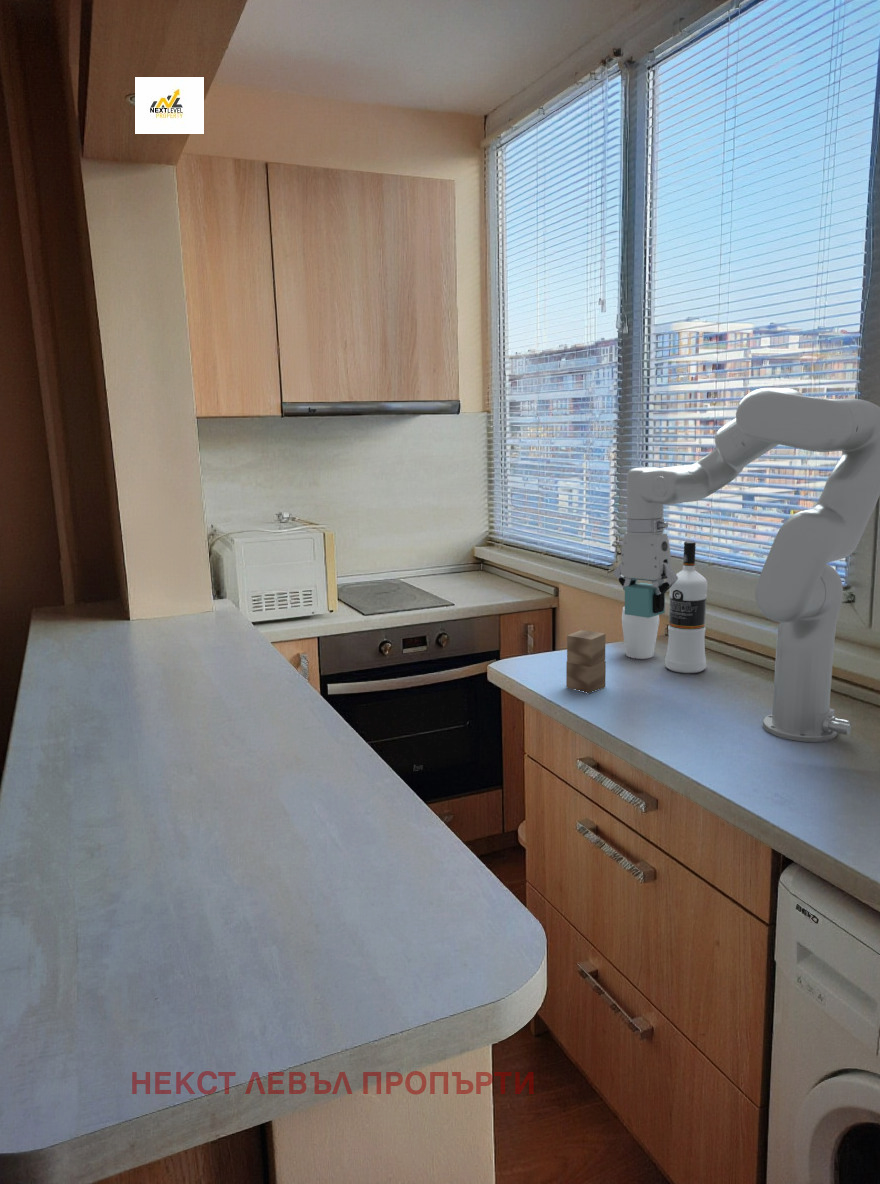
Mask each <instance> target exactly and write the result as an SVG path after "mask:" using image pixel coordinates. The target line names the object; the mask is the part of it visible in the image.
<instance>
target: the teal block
mask: <svg viewBox="0 0 880 1184" xmlns="http://www.w3.org/2000/svg"><path fill="white" fill-rule="evenodd" d="M654 594H655V591H654V588H653V585H652V583H645V582H639V583H636V584H634V585H630V586H626V587H625V591H624V606H625V614H627V615H633V616H640V617H647V618H650V617H653V616H656V615H659V616H660V615H663V614H665V612H666V611H665V610H666V600H665V599H666V596H665V595H666V593H664V610H663V611H662V612H659V613H653V595H654Z"/></svg>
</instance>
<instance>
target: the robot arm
mask: <svg viewBox="0 0 880 1184" xmlns="http://www.w3.org/2000/svg"><path fill="white" fill-rule="evenodd" d="M714 443H715V448H714V450H712V451H711V452H710V453H708V454H706V455H705V456H704V457H702V458H701V459H699V460H698V461H696V462H695V463H692V464H686V465H685V464H683V465H675V466H674V465H673V466H666V467H660V468H659V467H655V466H650V467H649V466H647V467H646V466H645V467H643V466H642V467H634V468H630V469H629V470H628V471H627V474H626V532H624V534H623V539H622V544H621V545H622V546H621V552H620V553H621V554H620V564H618V566H617V567H616V568H615V570H613V575H614V577H615V578H616V579H617V580H618V582H619V584H620V585H621V586H622V591H624V592H625V587H626V586H630V585H634V584H638V583H637V582H638V580H639V581H647V582H651V584H652V585H653V588H654V591H655V594H654V595H653V613H659V612H662V611H663V610H664V593H665V594H666V593H668V590H670V587H671V586H672V585H673V584H674V583H675V582H676V581H677V580H678V577H677V575H676V574H677V573H675V572H674V570H673V569H672V558H671V547H670V541H669V536H668V533H667V532H664V531H665V529H667V528H669V523H668V521H665V518H664V505H666V506H667V505H669V506H670V505H671V506H672V505H677V504H683V503H684V504H685V503H693V502H697V501H701V500H703V499H705V498H707V497H709V496H711V495H712V494H715V493H716V492H717V491H719V490H720V489H723V487H725V486H727V485H728V484H730V483H731V482H732V481H734V480H735V479H736V478H737V477H738V476H739V474H741V473H742V471H743V470H744V469H745V467H746V466H747V465H749V464H750V463H752V462H754V461H755V460H756V459H758V458H759V457H761V456H764V454H766V453H768V452H770V451H771V450H772V449H774V448H775V447H777V446H780V445H781V446H785V447H790V448H795V449H800V450H804V451H809V452H817V453H829V452H842V453H841V457H840V459H839V461H837V462H838V463H837V464H836V465H835V467H834V468H833V469H832V471H831V472H830V474H829V475H828V478H827V480H826V482H825V485H824V486H823V487H824V488H823V490H822V493H821V494H820V496H819V499H818V500H817V501H816V504H815V505H814V507H813V508H810V509H805V510H801V511H797V512H796V513H794V514H792V515H791V516H789V517H788V518H787V520H785V521H784V523H783V524H782V525H781V527H780V528H779V529H778V531H777V533H776V536H775V538H774V539H773V543H772V544H771V548H770V549H769V551H768V554H767V557H766V560H765V563H764V564H763V567H762V569H761V572H760V574H759V577H758V579H757V583H756V586H755V594H754V595H755V596H754V597H755V602H756V603H755V604H756V605H757V608H758V610H759V612H760V613H761V614H762V615H763V617H765V618H767V619H768V620H770V621H772V622H776V623H778V629H777V635H776V647H775V660H774V661H775V664H774V679H773V680H774V682H773V698H772V699H773V700H772V713H770V714H769V715H766V716H765V717H764V718H763V721H762V726H763V727H762V728H763V729H764V730H765V731H766V732H768V733H769V734H771V735H773V736H776V737H779V738H782V739H785V740H788V741H790V740H791V741H796V742H805V743H806V742H807V743H819V742H826V741H830V740H832V739H834V738H836V736H837V734H841V735H846V736H849V735H850V734H851V732H852V725H851V724H850V720H847V719H842V718H841V719H840V718H837V716H836V715H835V714H836V713H835V708H831V707H830V704H831V691H832V690H831V689H832V679H833V677H832V675H833V665H834V664H833V661H834V652H835V651H834V650H835V640H836V639H835V637H836V631H837V623H838V617H839V614H840V611H841V606H842V602H843V596H844V595H843V594H844V588H843V587H844V586H843V581H842V578H841V575H840V574H839V573H838V571H837V570H836V569H835V567H833V566H831V565H830V564H828V563H832V562H836V561H838V560H839V561H840V560H842V559H845V558H847V557H849V556H850V555H851V554H853V552H854V551H855V550H856V549H857V547H858V545H859V543H860V542H861V540H862V539H861V538H862V537H863V535H864V532H865V530H866V528H867V525H868V523H869V521H870V519H871V517H872V515H873V512H874V510H875V508H876V505H877V503H878V500H879V498H880V406H879V405H877V404H875V403H873V402H871V401H868V400H864V399H860V398H859V399H858V398H823V397H814V396H808V395H807V396H806V395H804V394H803V393H802V392H799V391H798V390H795V389H792V388H788V387H784V388H782V387H781V388H780V387H763V388H762V387H761V388H758V389H754V390H753V391H751V392H749V393H747V395H745V396H744V397H743V398H742V399H741V400H740V402H739V404H738V406H737V408H736V413H735V418H734V419H732V420H731V421H729V422H728V423H726V424H724V425H723V426H722V427H720V428H719V429H718V430H717V431H716V433H715V436H714ZM665 580H666V581H665Z"/></svg>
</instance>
